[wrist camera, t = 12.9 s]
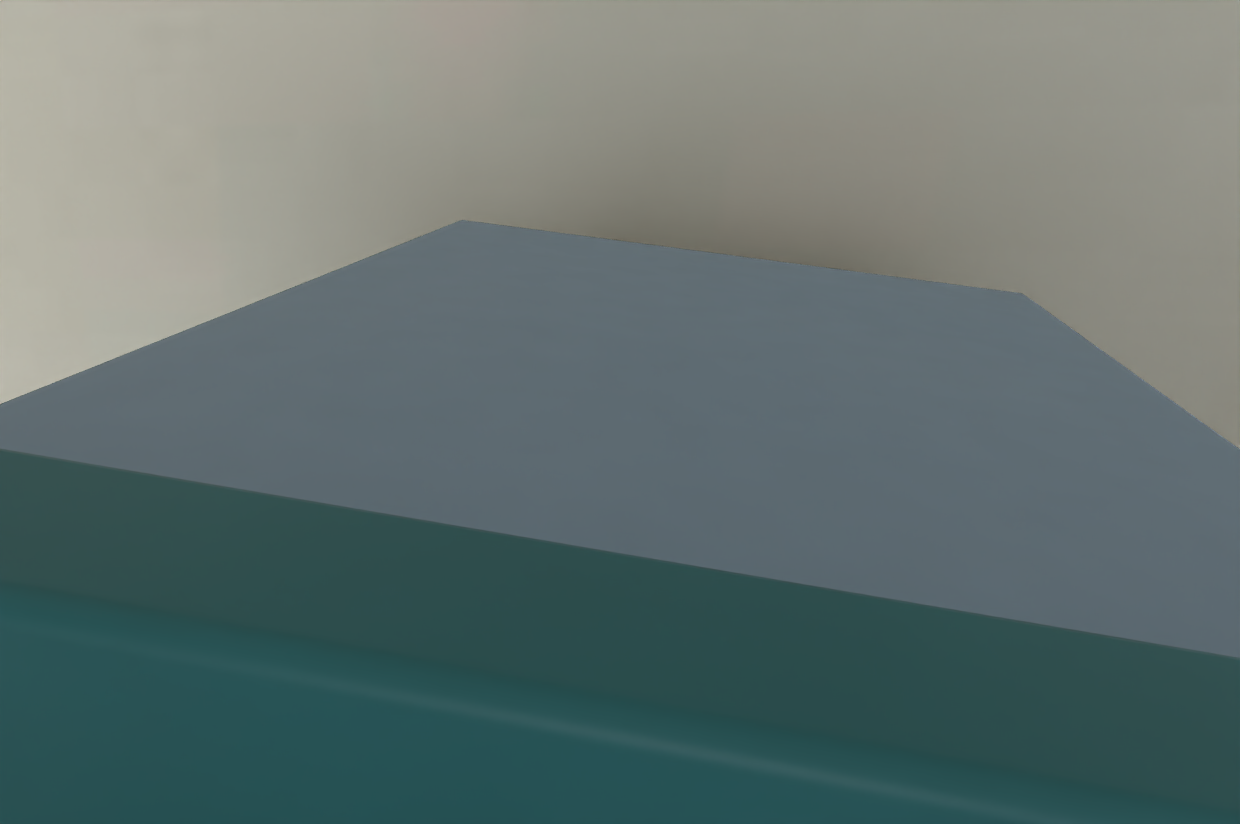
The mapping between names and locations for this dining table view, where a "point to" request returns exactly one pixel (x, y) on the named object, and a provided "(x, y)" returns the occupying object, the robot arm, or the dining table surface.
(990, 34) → the dining table surface
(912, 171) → the dining table surface
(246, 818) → the container
